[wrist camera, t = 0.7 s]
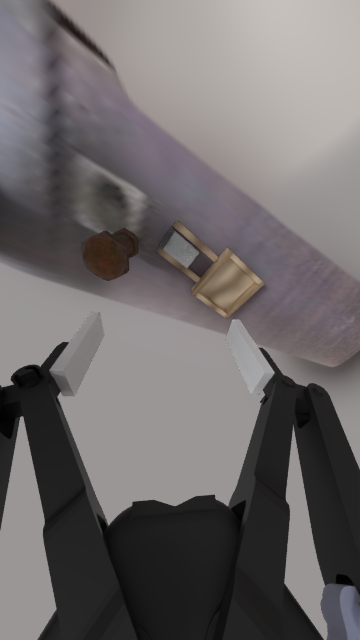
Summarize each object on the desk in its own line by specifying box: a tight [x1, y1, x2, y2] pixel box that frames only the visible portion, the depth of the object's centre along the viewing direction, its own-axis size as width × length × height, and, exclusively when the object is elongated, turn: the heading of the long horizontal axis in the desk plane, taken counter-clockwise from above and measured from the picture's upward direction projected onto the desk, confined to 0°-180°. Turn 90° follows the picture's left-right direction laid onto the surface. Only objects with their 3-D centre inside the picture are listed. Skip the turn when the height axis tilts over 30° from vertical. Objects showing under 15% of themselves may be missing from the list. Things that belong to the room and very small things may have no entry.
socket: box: [157, 220, 265, 319], centre depth 35 cm, size 22×12×2 cm, turn 52°
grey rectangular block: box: [159, 227, 199, 268], centre depth 31 cm, size 6×4×4 cm, turn 52°
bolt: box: [82, 228, 138, 281], centre depth 26 cm, size 6×5×15 cm
